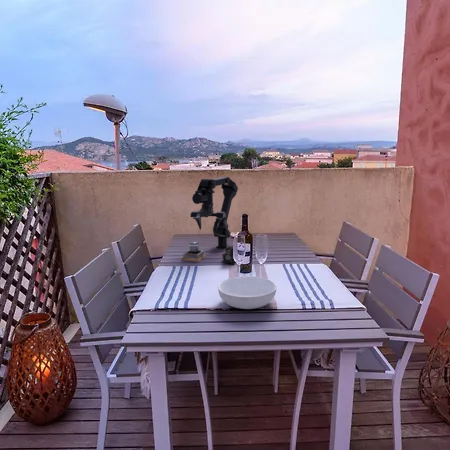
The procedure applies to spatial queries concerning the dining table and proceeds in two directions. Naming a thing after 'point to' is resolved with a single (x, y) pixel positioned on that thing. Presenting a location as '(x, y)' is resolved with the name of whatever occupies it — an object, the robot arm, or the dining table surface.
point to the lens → (193, 247)
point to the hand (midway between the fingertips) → (208, 229)
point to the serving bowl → (247, 291)
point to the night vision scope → (229, 255)
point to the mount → (193, 256)
